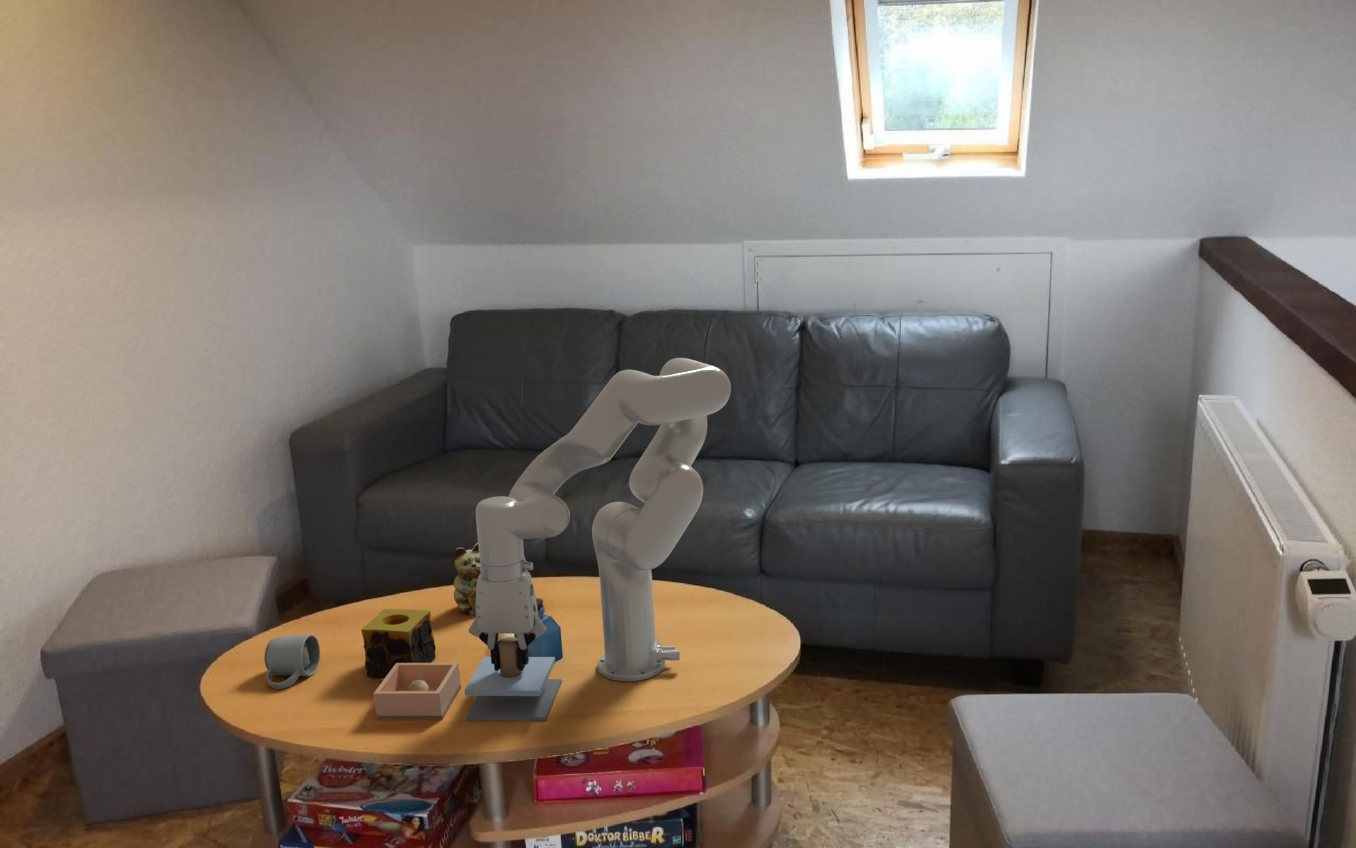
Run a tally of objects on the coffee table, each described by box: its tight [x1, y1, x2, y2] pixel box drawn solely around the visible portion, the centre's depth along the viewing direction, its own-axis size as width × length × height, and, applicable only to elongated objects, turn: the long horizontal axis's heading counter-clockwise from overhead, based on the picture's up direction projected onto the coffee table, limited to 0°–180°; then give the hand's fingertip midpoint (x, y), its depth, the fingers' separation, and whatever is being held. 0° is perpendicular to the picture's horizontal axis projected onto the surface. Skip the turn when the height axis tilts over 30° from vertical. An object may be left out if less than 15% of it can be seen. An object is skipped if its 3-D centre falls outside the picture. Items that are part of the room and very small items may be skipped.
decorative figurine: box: [453, 542, 481, 616], centre depth 238 cm, size 10×8×15 cm
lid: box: [464, 636, 556, 697], centre depth 196 cm, size 13×13×7 cm
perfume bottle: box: [513, 597, 564, 663], centre depth 212 cm, size 6×6×12 cm
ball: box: [408, 680, 429, 691], centre depth 198 cm, size 4×4×4 cm
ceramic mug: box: [263, 633, 321, 690], centre depth 211 cm, size 11×8×8 cm
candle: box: [361, 608, 437, 680], centre depth 212 cm, size 10×10×10 cm
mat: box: [465, 678, 563, 722], centre depth 198 cm, size 14×14×1 cm
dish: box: [373, 662, 462, 721], centre depth 198 cm, size 12×12×5 cm
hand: (510, 666), depth 196 cm, fingers closed on lid, 3 cm apart
